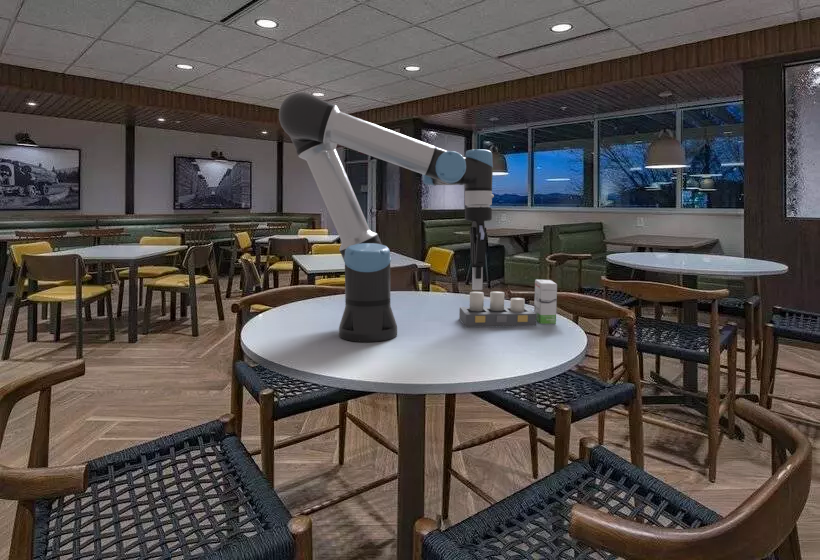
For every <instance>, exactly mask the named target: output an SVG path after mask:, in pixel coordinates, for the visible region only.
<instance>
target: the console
mask: <svg viewBox="0 0 820 560" xmlns="http://www.w3.org/2000/svg"><path fill="white" fill-rule="evenodd" d="M469 308H470V306H459V315H458V316H459V320H460V322H461V323H462V325H463V326H464V327H466V328H476V327H478V328H483V327H484V328H485V327H489V328H490V327H491V328H492V327H493V328H496V326H497V327H499V326H500V327H537V320H536V319H537V314H536V313H535V312H534V310H532V309H530V308H529V307H527V306H526V305H525V306H524V312H511V311H510V306H509V305H508V306H504V310H503V311H492V310H490V306H483V311H471V310H469Z"/></svg>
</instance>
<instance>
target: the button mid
mask: <svg viewBox="0 0 820 560" xmlns="http://www.w3.org/2000/svg"><path fill="white" fill-rule="evenodd" d="M489 293H490V294H489V297H490V298H489V307H490V310H492V311H503V310H504V307H505V292H504V291H490V292H489Z"/></svg>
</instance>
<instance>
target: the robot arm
mask: <svg viewBox="0 0 820 560" xmlns="http://www.w3.org/2000/svg"><path fill="white" fill-rule="evenodd" d="M278 120H279V124H280V126H281V128H282V129H283V131H284V132H285V134H287V135H288V136H289V138H290V140H291V142H292V145H293V147H294V150H295V152H296V154H297V156H298V158H300V159H302V160H303V161H306V162H307V165H308V168H309V170H310V172H311V174H312V177H313V179H314V182H315V183H316V186H317V189H318V190H319V193H320V196H321V197H322V200H323V202H324V205H325V206H326V209H327V212H328V214H329V216H330V218H331V220H332V223H333V225H334V228H335V230H336V232H337V234H338V237H339V239H340V241H341V244H340V246H339V250H338V251H339V253H340V254H341V257H342V259H343V262H344V287H345V289H344V290H345V291H344V296H345V297H344V298H345V299H344V302H345V306H344V309H343V314H342V316H341V320H340V323H339V327H338V337H339V338H340V339H342V340H346V341H351V342H360V343H372V342H373V343H375V342H383V341H388V340H391V339H392V340H393V339H394V338H396V337H397V336H398V325H397V322H396V321H397V320H396V318H395V316H394V312H393V309H392V307H391V261H392V256H391V251H390V248H389V247H388V246H387V245H385V244H383V243H382V241H381V238H380V237H379V234H378V233H377V232H374V231H372V230H371V229H370V227H369V225H368V222H367V219H366V217H365V215H364V212H363V211H362V208H361V205H360V203H359V201H358V199H357V196H356V194H355V192H354V189H353V187H352V185H351V182H350V179H349V177H348V174H347V172H346V170H345V167H344V165H343V163H342V161H341V158H340V156H339V153H338V151H337V147H338V145H339V146H342V147H345V148H347V149H350V150H352V151H356V152H360V153H362V154H365V155H367V156H371V157H373V158H376V159H379V160H382V161H385V162H388V163H390V164H393V165H396V166H398V167H401V168H404V169H407V170H410V171H412V172H415V173H419V174H420V175H422V177H421V178H422V182H423V184H424V185H425V186H434V187H435V186H457V185H458V186H464V187H465V189H464V205H465V206H466V207H465V208H464V219H465V221H469V222H471V226H470V227H469V240H470V242H469V243H470V264H471V268H472V269H471V270H472V271H471V273H472V274H471V275H472V276H471V277H472V278H471V290H473V291H482V290H483V284H484V283H483V279H484V278H483V275H484V273H483V269H484V268H483V267H484V266H485V264H486V248H487V239H488V232H487V227H486V226H485V222H487V221H488V222H489V221H490V222H491V221H492V219H493V216H492V215H493V208H492V207H491V206H492V204H493V203H492V202H493V198H494V197H495V195H494V194H493V176H494V175H493V172H494V171H493V169H494V163H493V153H492V152H493V151H490V150H489V149H480V148H479V149H469V150H468V149H467V150H466V151H465V156H463V155H462V154H461V153H460V152H457V151H454V150H446V149H443V148H440V147H437V146H435V145H432V144H429V143H427V142H424V141H421V140H419V139H416V138H413V137H410V136H407V135H405V134H402V133H399V132H396V131H394V130H392V129H388V128H385V127H383V126H380V125H378V124H376V123H372V122H369V121H367V120H364V119H362V118H358V117H356V116H354V115H350V114H347V113H345V112H343V111H340V109H339V108H338V106H337V105H336V104H334V103H330V102H328V101H326V100H324V99H321V98H319V97H316V96H314V95H313V94H310V93H308V92H307V93H306V92H294V93H291V94H290V95H288V96H287V97H286V98H285V99H283V101H282V103H281V104H280V107H279V110H278Z"/></svg>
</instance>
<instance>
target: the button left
mask: <svg viewBox="0 0 820 560" xmlns="http://www.w3.org/2000/svg"><path fill="white" fill-rule="evenodd" d="M484 294H485V293H484V292H483V291H470V292H469V307H470V308H469V310H471V311H483V307H485V306H484V302H485V301H484V300H485V299H484V298H485V295H484Z"/></svg>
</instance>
